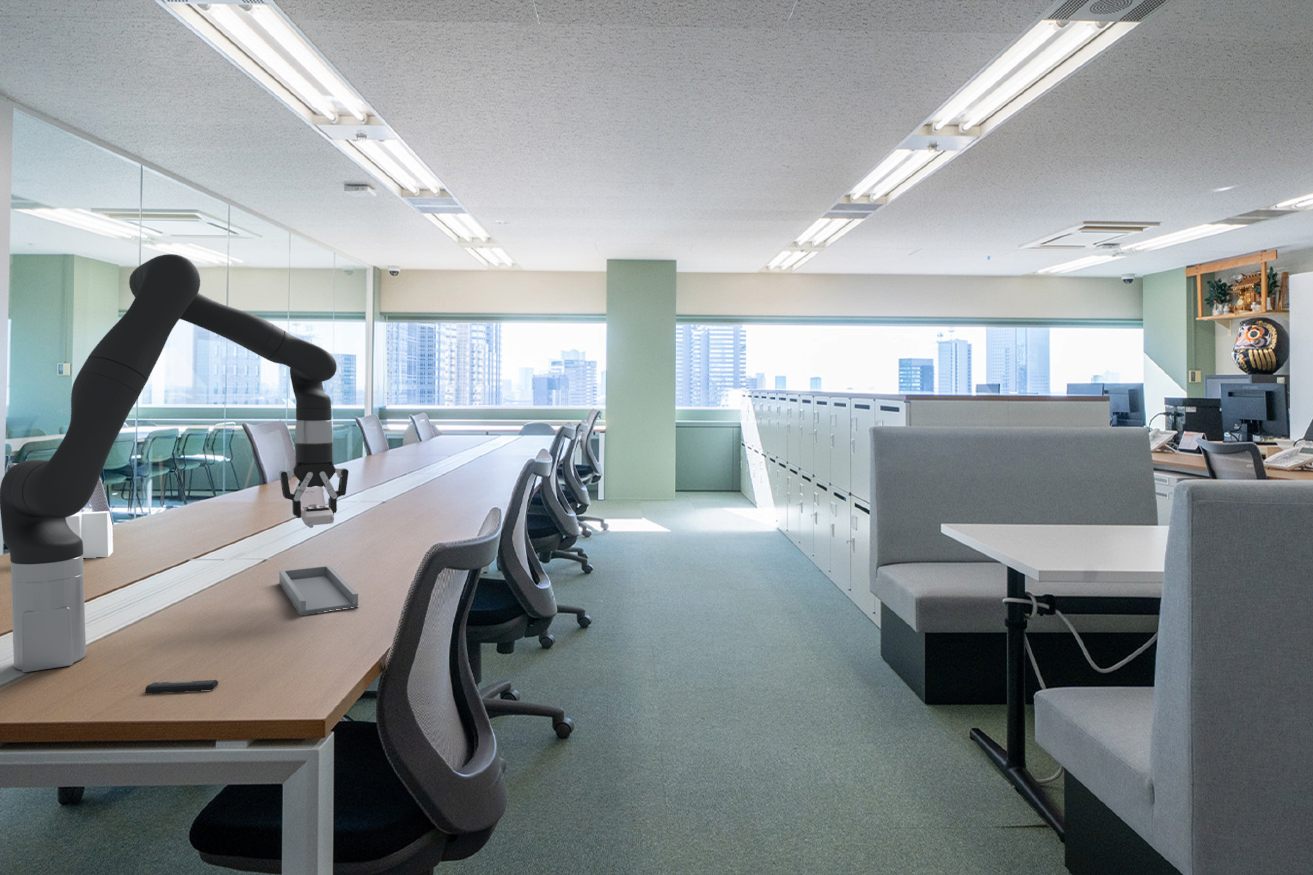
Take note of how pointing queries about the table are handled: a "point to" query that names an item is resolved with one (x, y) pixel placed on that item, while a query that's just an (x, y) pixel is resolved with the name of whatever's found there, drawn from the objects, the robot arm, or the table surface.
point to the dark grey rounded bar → (181, 686)
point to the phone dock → (317, 589)
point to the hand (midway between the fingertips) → (315, 516)
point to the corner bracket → (93, 532)
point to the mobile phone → (315, 507)
